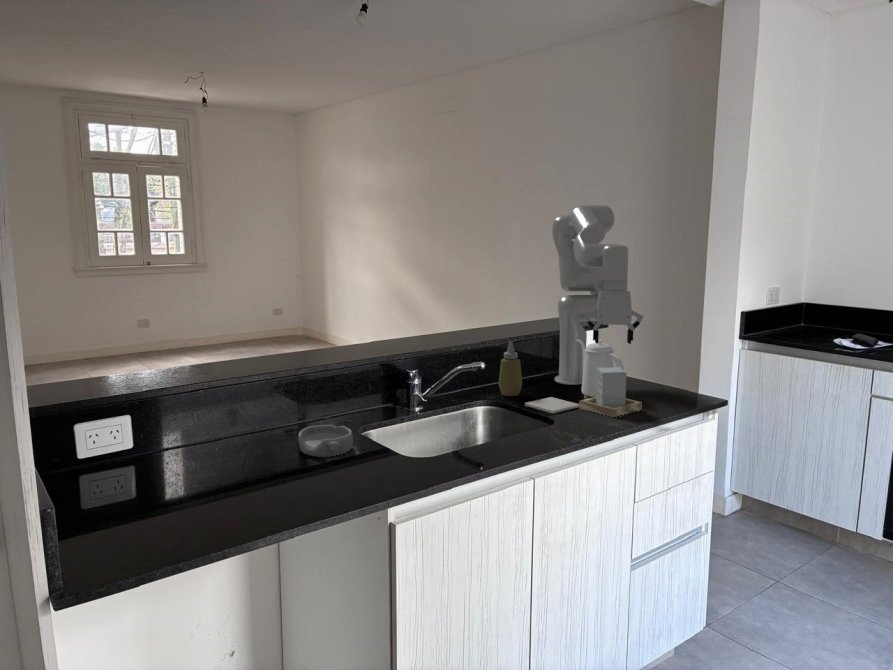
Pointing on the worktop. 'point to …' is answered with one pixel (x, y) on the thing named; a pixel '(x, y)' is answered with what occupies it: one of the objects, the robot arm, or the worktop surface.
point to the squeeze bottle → (510, 373)
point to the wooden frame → (612, 412)
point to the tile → (552, 405)
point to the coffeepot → (596, 364)
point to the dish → (325, 440)
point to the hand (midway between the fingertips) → (612, 342)
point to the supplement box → (611, 387)
